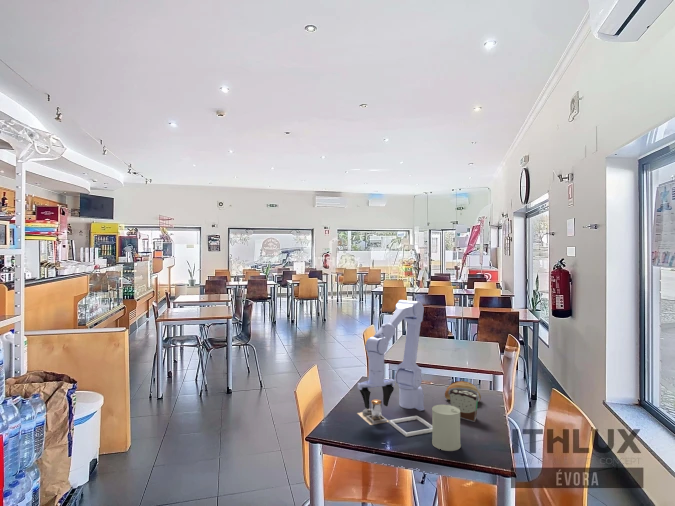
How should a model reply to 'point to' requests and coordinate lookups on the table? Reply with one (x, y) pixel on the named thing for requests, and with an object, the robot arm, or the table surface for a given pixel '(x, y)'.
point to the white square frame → (409, 420)
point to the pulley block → (368, 417)
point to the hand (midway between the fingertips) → (376, 406)
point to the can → (446, 427)
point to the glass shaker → (376, 409)
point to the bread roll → (461, 385)
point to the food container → (465, 402)
